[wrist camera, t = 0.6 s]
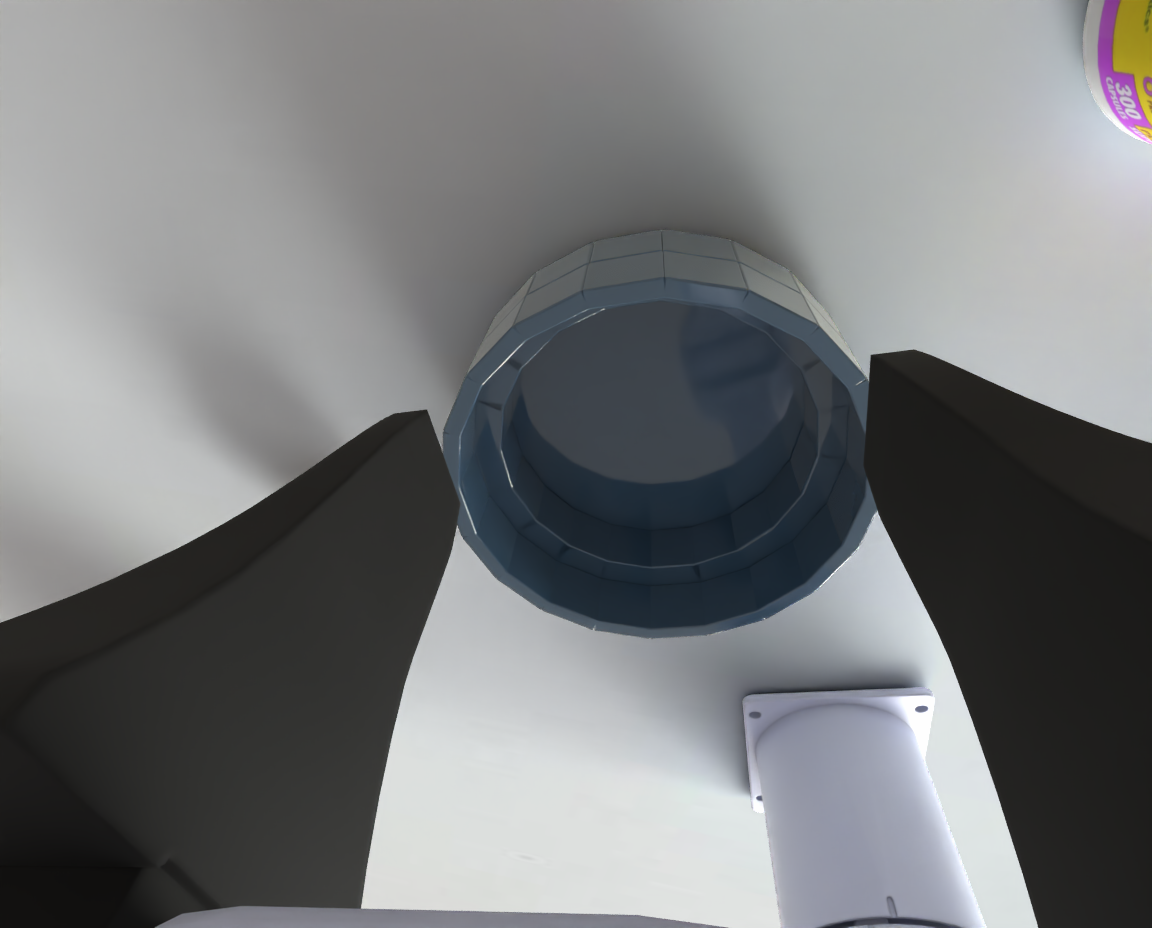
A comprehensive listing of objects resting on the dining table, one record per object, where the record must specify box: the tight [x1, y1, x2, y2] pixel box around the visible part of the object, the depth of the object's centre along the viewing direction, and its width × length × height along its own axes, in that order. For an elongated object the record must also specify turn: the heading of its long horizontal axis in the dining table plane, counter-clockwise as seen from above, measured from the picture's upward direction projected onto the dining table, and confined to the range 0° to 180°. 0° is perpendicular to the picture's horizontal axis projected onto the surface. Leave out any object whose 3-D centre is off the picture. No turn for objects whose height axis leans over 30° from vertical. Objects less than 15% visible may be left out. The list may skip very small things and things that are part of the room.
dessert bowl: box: [443, 229, 877, 639], centre depth 20 cm, size 12×12×4 cm
